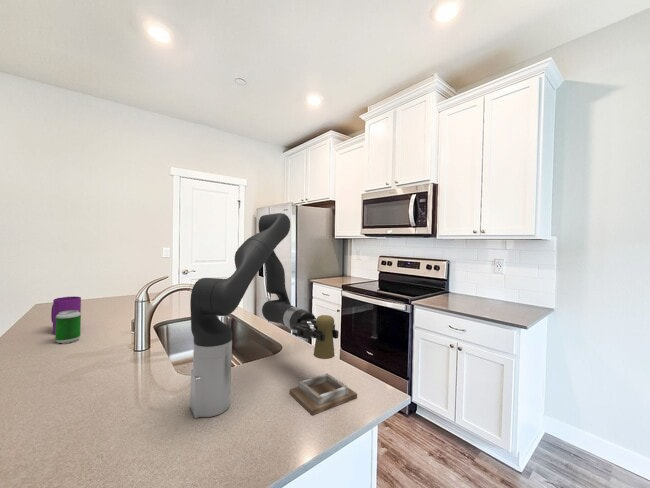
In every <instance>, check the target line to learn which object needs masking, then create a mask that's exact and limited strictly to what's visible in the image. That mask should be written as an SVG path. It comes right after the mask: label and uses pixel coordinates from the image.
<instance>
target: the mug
mask: <svg viewBox="0 0 650 488" xmlns="http://www.w3.org/2000/svg"><path fill="white" fill-rule="evenodd" d="M81 300H82V297H81V296H63V297H57V298H53V301H52V302H53V304H52V305H51V313H50V318H51V323H52V334H54V335H56V315H58V314H59V312H63V311H69V310H77V311H78V312H80V313H81V312H82V309H81V308H82V301H81ZM81 314H82V313H81Z"/></svg>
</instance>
